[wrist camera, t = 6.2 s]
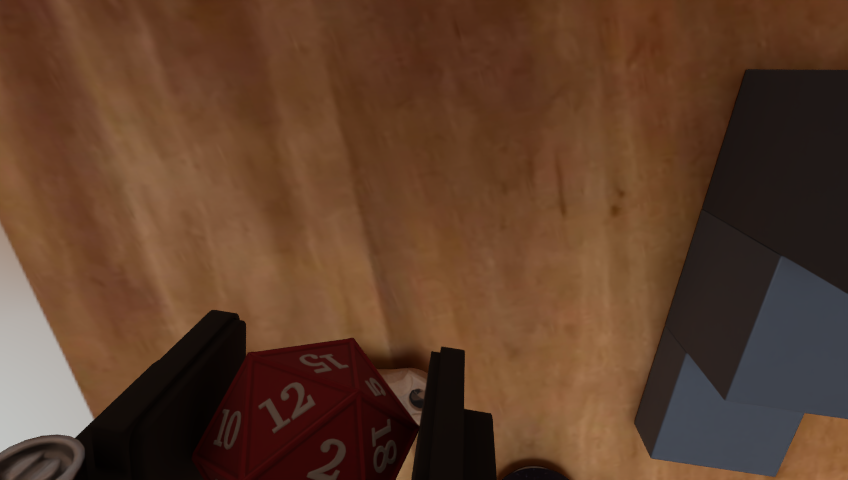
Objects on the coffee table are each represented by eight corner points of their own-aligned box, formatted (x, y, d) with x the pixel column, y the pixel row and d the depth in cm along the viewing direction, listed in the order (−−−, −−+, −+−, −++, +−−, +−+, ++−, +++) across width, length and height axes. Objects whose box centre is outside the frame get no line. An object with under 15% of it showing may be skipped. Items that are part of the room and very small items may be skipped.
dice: (317, 473, 13) (253, 646, 9) (218, 334, 12) (97, 465, 8) (449, 426, 12) (439, 595, 8) (357, 270, 11) (297, 384, 7)
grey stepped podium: (745, 69, 24) (962, 70, 13) (894, 87, 24) (1233, 102, 13) (633, 423, 31) (718, 602, 20) (747, 440, 31) (891, 630, 20)
